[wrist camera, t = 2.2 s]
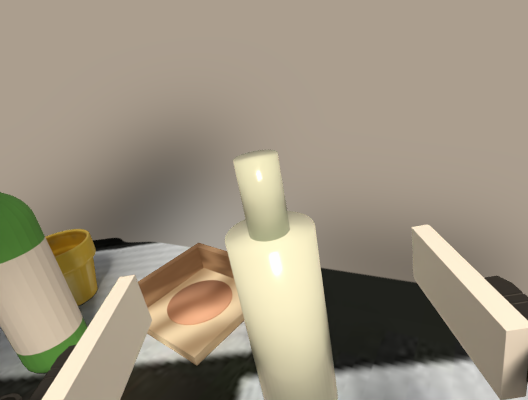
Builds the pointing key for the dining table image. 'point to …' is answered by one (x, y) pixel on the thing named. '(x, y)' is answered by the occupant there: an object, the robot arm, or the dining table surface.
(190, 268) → the dock
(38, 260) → the wine bottle
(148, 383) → the dining table surface
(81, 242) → the plant pot
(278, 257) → the bottle
